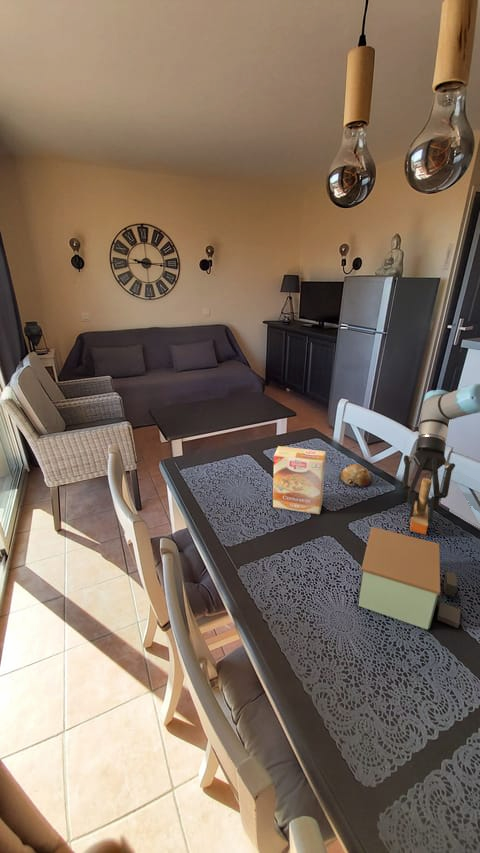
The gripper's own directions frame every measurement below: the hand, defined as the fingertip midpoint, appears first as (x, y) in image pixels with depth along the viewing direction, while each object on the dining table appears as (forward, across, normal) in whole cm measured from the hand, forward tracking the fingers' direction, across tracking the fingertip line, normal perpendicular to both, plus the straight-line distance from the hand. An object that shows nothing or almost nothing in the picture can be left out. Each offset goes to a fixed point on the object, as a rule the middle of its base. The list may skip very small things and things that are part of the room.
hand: (420, 517), depth 100 cm
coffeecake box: (+5, +35, -4) cm, 36 cm away
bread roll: (-11, +21, -21) cm, 32 cm away
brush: (0, 0, -6) cm, 6 cm away
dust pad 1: (+16, -6, +10) cm, 19 cm away
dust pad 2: (+21, -7, +16) cm, 27 cm away
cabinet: (+22, +4, +13) cm, 25 cm away
